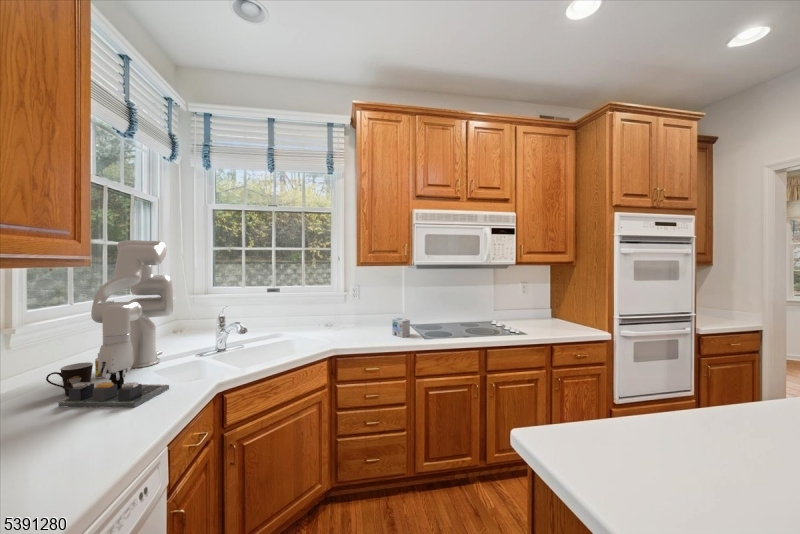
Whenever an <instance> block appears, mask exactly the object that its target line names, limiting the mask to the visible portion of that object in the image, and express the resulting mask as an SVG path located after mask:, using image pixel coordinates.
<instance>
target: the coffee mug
mask: <svg viewBox="0 0 800 534" xmlns="http://www.w3.org/2000/svg"><path fill="white" fill-rule="evenodd" d="M93 366H94V363H93V362H88V361H87V362H76V363H72V364H68V365H64V366H62V367H60V372H57V371H54V372H51V373H49V374H47V375H46V378H45V381H46V382H47V383H48V384H50V385H51V386H52V385H53V386H55V387H60V388H62V389H64V394H65V396H66V395H68V396H67V397H69V389H70V388H73V384H76V383H78V382H90V383H92V381H91V380H92V372H93ZM51 375H58V376H59V377H61V379H62V384H58V383H55V382H53V381H50V379H49V377H50V376H51Z"/></svg>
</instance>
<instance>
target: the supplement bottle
mask: <svg viewBox="0 0 800 534" xmlns="http://www.w3.org/2000/svg"><path fill="white" fill-rule="evenodd" d="M98 358H99V352H98V353H97V357H96V358H95V361H94V364H95V378H96V379H100V380H101V379H103V378H102V374H103V373H102V374H99V373H98Z"/></svg>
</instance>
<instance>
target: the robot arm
mask: <svg viewBox="0 0 800 534" xmlns="http://www.w3.org/2000/svg"><path fill="white" fill-rule="evenodd" d="M116 248H117V255H116V261H115V265H114V266H115V268H114V273H113V277H112V278H111V279H109V280H108V281H107V282H105V283H103V285H102V286H100V287H99V289H98V290H97V291H96V292H95V294H94V296H93V302H92V306H91V312H90V313H91V314H90V315H91V319H92V321H93V322H95V323H97V324H102V344H101V345H100V347H99V352H98V353H99V358H98V357H97V358H98V373H99V374H102V373H103V374H102V378H101V379H109V381H110V382H113V384H117V391H118V389H120V388H122V384H125V382H124V381H125V380H124V379H125V377H126V373H127V372H128V371H129V370H131V369H138V368H144V367H150V366H154V365H156V364H159V363H160V362H161V359H160V358H159V357H158V356H160V355H162V354H163V351H162V350H158V351H157V348H156V347H157V343H156V342H157V341H156V340H157V339H156V338H157V337H156V336H157V334H156V333H157V331H156V330H157V329H156V325H155V323H154V322H153V320H152V319H150V318H159V317H160V318H161V317H168V316H171V315H172V314H173V311H174V296H173V295H174V294H173V282H172V281H173V280H172V278H171V277H170V276H169V275H166V274H153V266H159V265H161V263H162V262H163V260H164V259H165V257H166V255H167V246H166V244H165V243H164V242H163V241H160V240H141V239H140V240H138V239H129V240H121V241H119V242H118V243H117V244H116ZM128 288H129V289H130V293H131V294H132V295H134V296H147V297H137V298H132V299H130V300H129V301H113V302H111V301H110V302H106V301H107V300H108V299H109V298H110V297H111V296H112V295H113V294H115V293H118V292H119V291H120V292H121V291H123V290H125V289H128ZM148 296H149V297H148ZM152 296H153V297H152Z"/></svg>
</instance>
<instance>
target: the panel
mask: <svg viewBox="0 0 800 534" xmlns="http://www.w3.org/2000/svg"><path fill="white" fill-rule="evenodd" d="M94 388H97V386H95V383H91V382H78V383H76V384H73V388H70V389H69V396H68V398H65V399H64V400H61V401H59V402H57V403H58V407H59V406H68V407H67V408H136V407H139V406H140V405H142V404H144V403H145V401H146V402H148V401H149V400H151V399H153V398H154V396H155V397H157V396H159V395H161V394H162V393H164V392H166V391H168V390H170V384H161V383H160V384H157V383H156V384H154V383H151V384H148V383H147V384H142V383H139V382H124V384H122V388H120V389H118V391H117V395H116V396H114V397H112V398H110V399H108V400H106V401H93V389H94ZM167 389H168V390H167ZM165 390H166V391H165ZM163 391H164V392H163ZM161 392H162V393H161ZM158 394H159V395H158ZM156 395H157V396H156ZM152 397H153V398H152ZM150 398H151V399H150Z"/></svg>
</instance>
